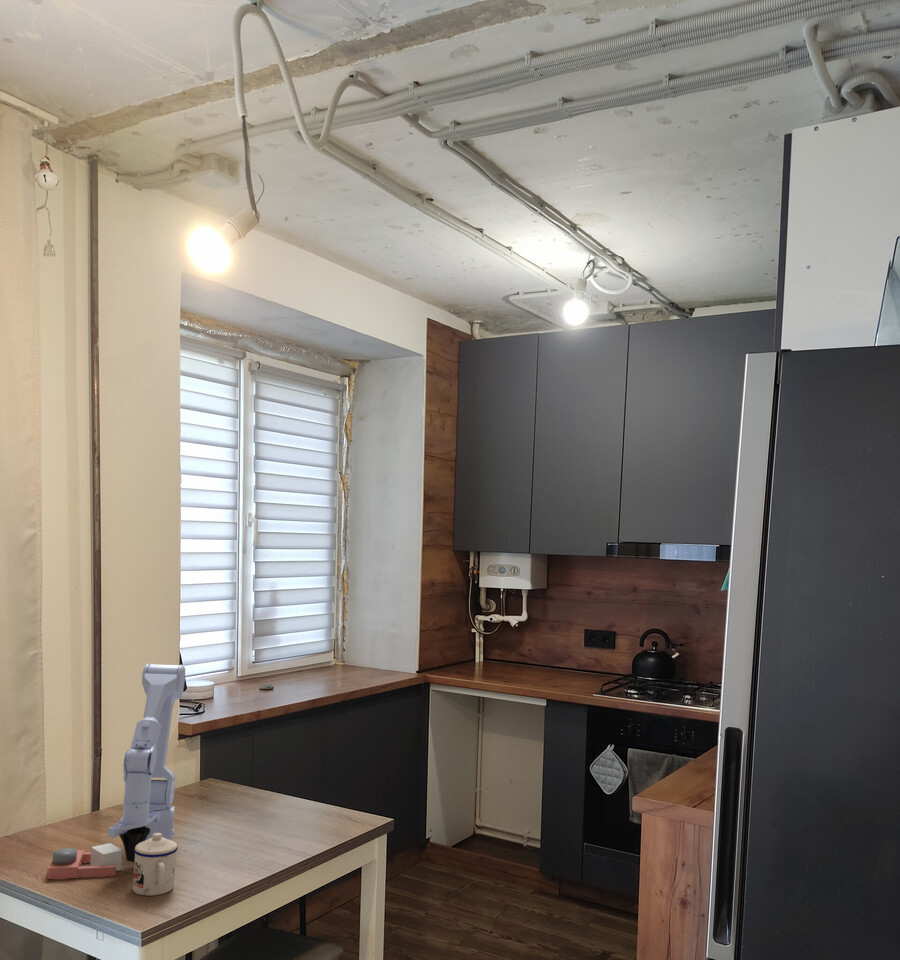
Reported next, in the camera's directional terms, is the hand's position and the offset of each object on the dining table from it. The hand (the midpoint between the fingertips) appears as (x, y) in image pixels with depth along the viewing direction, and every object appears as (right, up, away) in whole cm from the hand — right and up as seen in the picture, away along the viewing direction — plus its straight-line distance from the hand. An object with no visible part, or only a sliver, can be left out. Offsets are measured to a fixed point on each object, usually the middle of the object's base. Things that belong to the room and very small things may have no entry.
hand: (132, 860), depth 201 cm
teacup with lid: (+10, -1, -13) cm, 16 cm away
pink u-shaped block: (-10, -1, -3) cm, 10 cm away
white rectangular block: (-6, -1, -1) cm, 6 cm away
